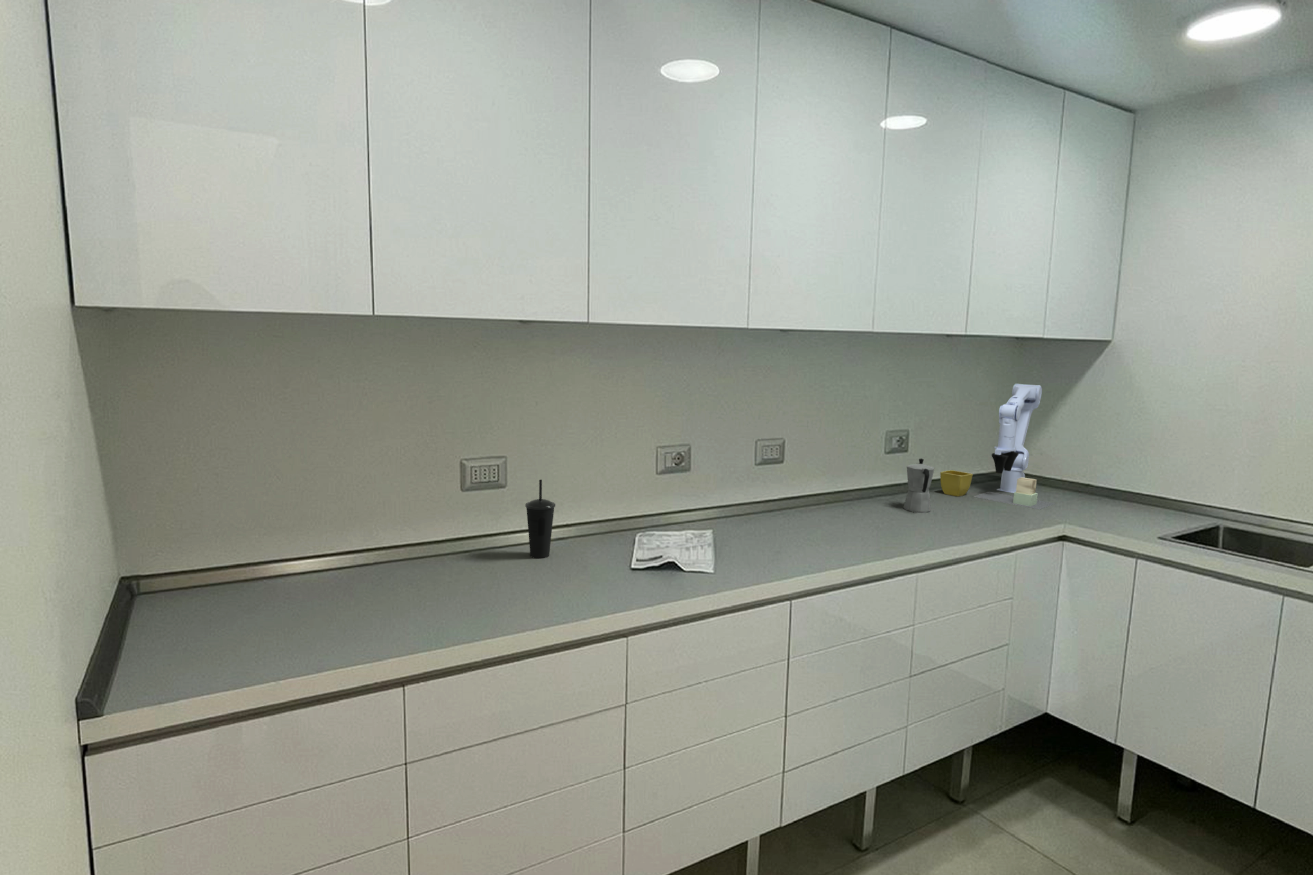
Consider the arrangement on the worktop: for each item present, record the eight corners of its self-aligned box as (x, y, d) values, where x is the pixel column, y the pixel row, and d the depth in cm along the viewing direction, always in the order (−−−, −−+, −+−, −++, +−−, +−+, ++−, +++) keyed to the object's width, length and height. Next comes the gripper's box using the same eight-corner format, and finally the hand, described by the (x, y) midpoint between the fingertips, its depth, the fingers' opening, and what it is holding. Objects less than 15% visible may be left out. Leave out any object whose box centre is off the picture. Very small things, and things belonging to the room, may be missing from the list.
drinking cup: (560, 554, 188) (561, 479, 185) (541, 562, 182) (542, 484, 179) (538, 549, 192) (538, 475, 189) (518, 556, 186) (519, 480, 183)
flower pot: (949, 492, 282) (951, 469, 280) (971, 496, 275) (973, 473, 274) (937, 495, 276) (939, 471, 275) (959, 499, 269) (961, 475, 268)
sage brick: (1019, 500, 268) (1020, 490, 267) (1036, 504, 263) (1037, 493, 263) (1012, 503, 264) (1014, 492, 263) (1030, 506, 259) (1031, 495, 259)
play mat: (989, 493, 282) (989, 491, 282) (1055, 505, 265) (1055, 503, 265) (972, 498, 272) (972, 496, 272) (1039, 511, 255) (1040, 509, 255)
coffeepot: (898, 504, 258) (902, 454, 256) (925, 505, 258) (929, 455, 255) (909, 514, 243) (914, 462, 240) (938, 516, 242) (943, 463, 240)
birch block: (1020, 490, 266) (1022, 477, 266) (1035, 493, 263) (1036, 479, 262) (1015, 492, 263) (1017, 478, 262) (1030, 494, 259) (1032, 481, 259)
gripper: (1004, 433, 280) (1000, 468, 282) (988, 436, 270) (984, 472, 272) (1023, 436, 275) (1019, 471, 277) (1007, 438, 265) (1003, 475, 267)
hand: (1003, 471), depth 274 cm, fingers open, 7 cm apart
